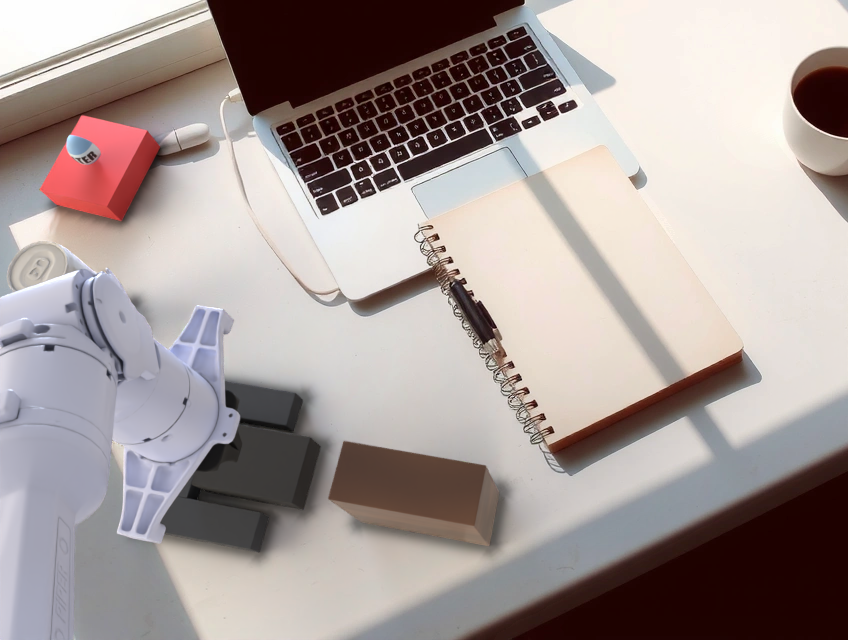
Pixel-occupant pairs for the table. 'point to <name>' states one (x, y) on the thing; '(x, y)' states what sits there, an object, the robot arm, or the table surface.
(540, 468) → the table surface
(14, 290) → the beverage can
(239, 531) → the base pad
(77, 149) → the red slab
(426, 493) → the brown wooden brick
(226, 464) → the black pad
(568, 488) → the table surface
